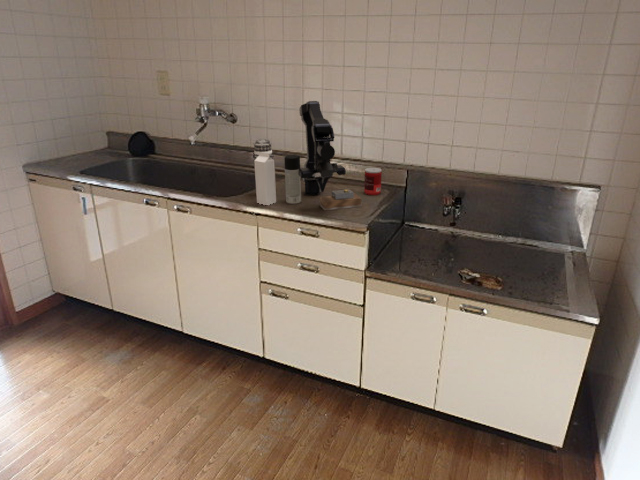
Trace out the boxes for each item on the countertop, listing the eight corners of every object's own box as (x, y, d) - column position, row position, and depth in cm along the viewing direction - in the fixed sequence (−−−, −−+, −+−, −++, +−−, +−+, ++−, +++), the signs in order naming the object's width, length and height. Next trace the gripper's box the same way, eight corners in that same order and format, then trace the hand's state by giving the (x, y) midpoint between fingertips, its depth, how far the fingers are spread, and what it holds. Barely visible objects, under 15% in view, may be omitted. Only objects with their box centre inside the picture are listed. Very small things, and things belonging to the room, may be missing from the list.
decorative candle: (251, 196, 211) (247, 140, 201) (262, 190, 218) (259, 137, 209) (268, 198, 207) (265, 142, 197) (279, 193, 214) (276, 138, 205)
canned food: (380, 190, 217) (381, 167, 213) (381, 195, 209) (382, 171, 205) (364, 190, 217) (364, 167, 213) (363, 195, 210) (364, 171, 206)
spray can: (303, 200, 204) (302, 155, 197) (297, 204, 198) (296, 158, 191) (289, 198, 206) (287, 154, 199) (283, 203, 200) (281, 157, 193)
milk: (266, 200, 205) (263, 150, 197) (276, 202, 202) (274, 152, 193) (256, 203, 201) (253, 152, 192) (267, 206, 197) (264, 154, 189)
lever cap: (335, 200, 193) (335, 192, 191) (331, 196, 197) (331, 189, 196) (353, 198, 195) (353, 190, 193) (349, 194, 199) (349, 187, 198)
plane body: (324, 210, 191) (324, 202, 190) (319, 204, 198) (319, 197, 197) (361, 206, 196) (362, 198, 194) (355, 201, 202) (355, 193, 201)
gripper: (304, 160, 177) (305, 199, 183) (350, 157, 182) (350, 195, 188) (297, 154, 187) (298, 191, 193) (341, 151, 191) (341, 187, 197)
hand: (322, 191), depth 192 cm, fingers closed
